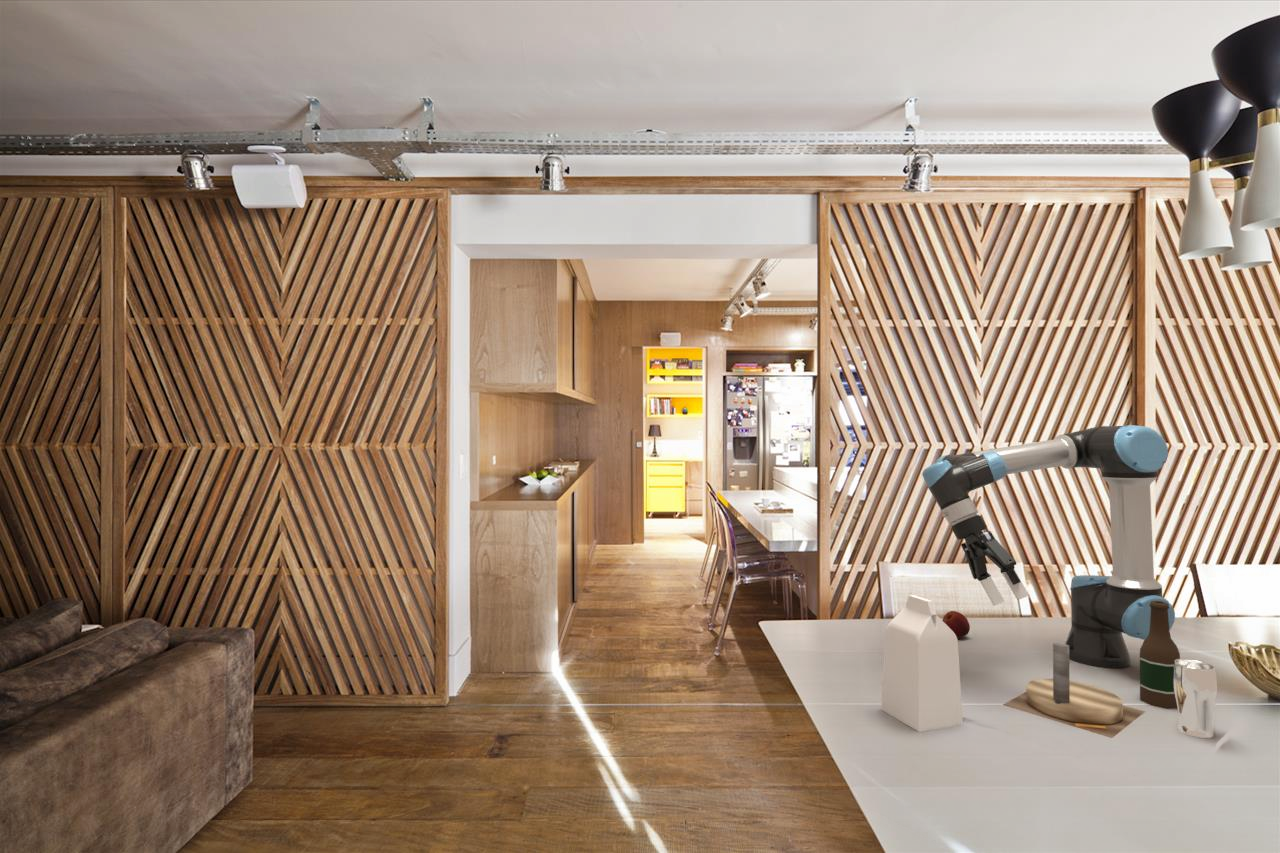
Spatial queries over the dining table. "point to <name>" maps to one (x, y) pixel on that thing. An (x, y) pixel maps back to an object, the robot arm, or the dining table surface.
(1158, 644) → the beer bottle
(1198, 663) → the beer glass
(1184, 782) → the dining table surface
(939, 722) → the milk
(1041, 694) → the cam dial
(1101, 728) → the dial base
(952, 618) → the apple
